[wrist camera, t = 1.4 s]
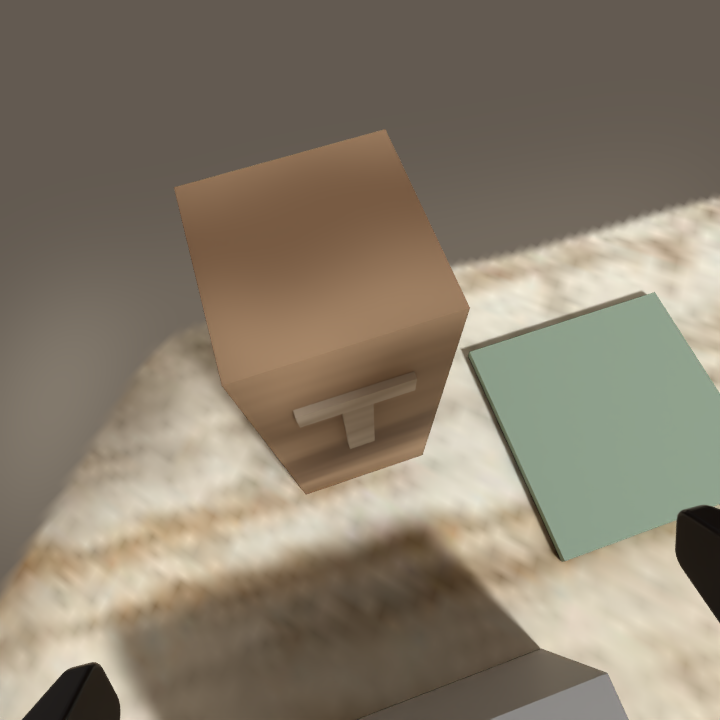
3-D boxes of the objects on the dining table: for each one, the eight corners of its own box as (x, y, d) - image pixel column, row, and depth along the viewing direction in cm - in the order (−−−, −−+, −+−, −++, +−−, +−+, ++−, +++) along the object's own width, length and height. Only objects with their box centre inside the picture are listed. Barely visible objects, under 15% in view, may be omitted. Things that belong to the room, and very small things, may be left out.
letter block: (424, 459, 22) (473, 316, 10) (307, 499, 21) (224, 394, 10) (382, 350, 24) (385, 128, 12) (274, 384, 23) (173, 187, 12)
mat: (770, 484, 21) (777, 482, 21) (561, 561, 20) (564, 561, 20) (650, 296, 24) (654, 292, 24) (468, 355, 24) (469, 351, 23)
